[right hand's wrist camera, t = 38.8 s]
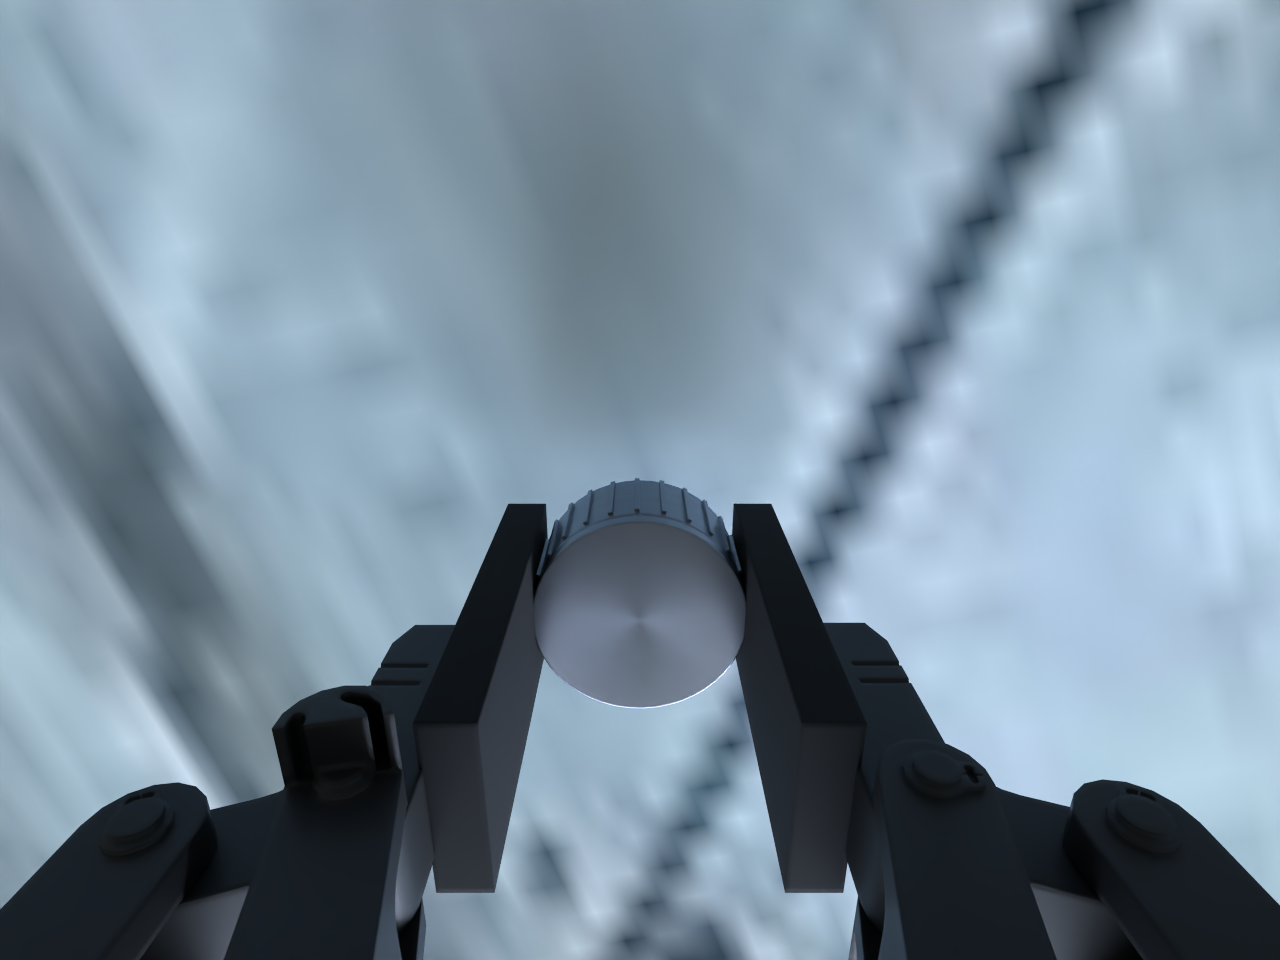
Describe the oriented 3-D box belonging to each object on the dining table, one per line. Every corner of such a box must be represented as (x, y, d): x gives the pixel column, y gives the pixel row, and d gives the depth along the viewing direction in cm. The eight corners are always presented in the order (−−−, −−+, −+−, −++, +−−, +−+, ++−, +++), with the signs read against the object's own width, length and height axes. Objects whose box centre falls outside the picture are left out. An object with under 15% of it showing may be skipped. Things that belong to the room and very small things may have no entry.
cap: (738, 473, 14) (755, 516, 12) (734, 647, 15) (747, 709, 14) (535, 478, 14) (519, 521, 12) (550, 651, 15) (537, 714, 14)
